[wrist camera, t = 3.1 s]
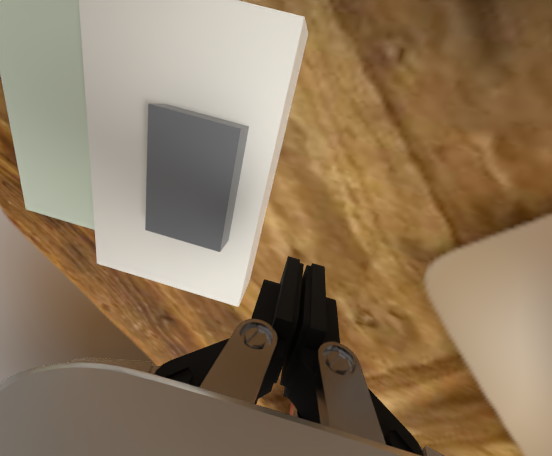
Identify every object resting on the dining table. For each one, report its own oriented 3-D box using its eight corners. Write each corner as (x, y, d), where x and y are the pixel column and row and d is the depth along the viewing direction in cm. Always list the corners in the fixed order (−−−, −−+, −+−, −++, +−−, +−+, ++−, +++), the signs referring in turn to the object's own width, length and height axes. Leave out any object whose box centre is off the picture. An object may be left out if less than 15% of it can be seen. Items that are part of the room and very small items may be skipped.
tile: (165, 103, 18) (148, 103, 17) (249, 126, 18) (240, 128, 16) (159, 220, 22) (145, 229, 21) (228, 240, 22) (220, 252, 20)
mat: (-13, -30, 21) (-20, -33, 20) (115, 2, 20) (111, 0, 20) (30, 207, 29) (25, 209, 29) (120, 234, 29) (117, 236, 28)
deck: (121, -13, 20) (76, -40, 16) (308, 34, 19) (304, 16, 15) (125, 244, 29) (97, 263, 26) (249, 281, 28) (238, 306, 25)
